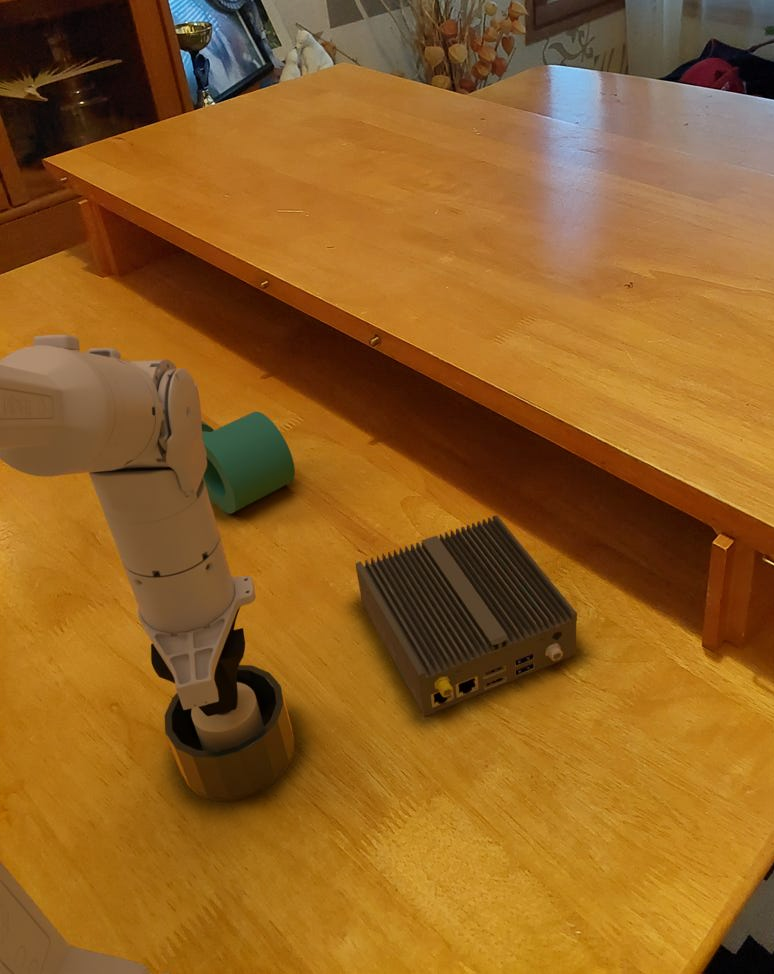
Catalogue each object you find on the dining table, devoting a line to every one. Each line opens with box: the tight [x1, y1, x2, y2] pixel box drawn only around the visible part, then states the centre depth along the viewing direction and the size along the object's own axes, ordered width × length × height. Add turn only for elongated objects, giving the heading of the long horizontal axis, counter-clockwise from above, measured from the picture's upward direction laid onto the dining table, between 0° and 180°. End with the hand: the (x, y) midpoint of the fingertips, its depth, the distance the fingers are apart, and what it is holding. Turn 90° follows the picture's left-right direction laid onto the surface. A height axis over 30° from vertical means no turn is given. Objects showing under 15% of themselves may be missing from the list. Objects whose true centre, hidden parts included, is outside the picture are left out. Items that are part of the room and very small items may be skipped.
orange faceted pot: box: [164, 664, 296, 803], centre depth 65 cm, size 8×8×5 cm
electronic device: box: [355, 514, 578, 717], centre depth 74 cm, size 13×15×5 cm
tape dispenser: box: [201, 411, 296, 515], centre depth 92 cm, size 7×15×8 cm, turn 43°
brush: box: [191, 682, 264, 751], centre depth 63 cm, size 4×4×8 cm
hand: (220, 697), depth 63 cm, fingers closed on brush
